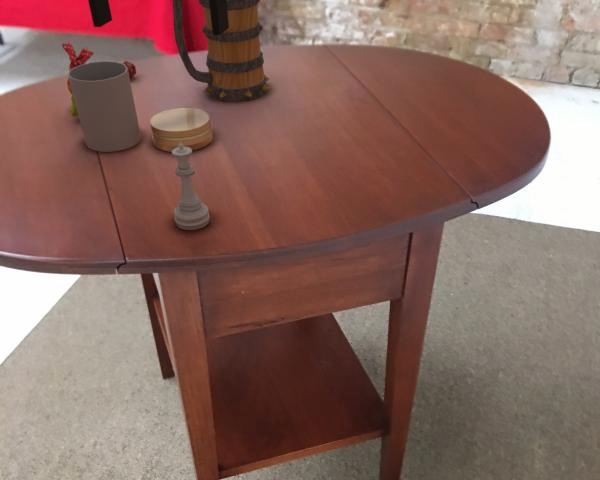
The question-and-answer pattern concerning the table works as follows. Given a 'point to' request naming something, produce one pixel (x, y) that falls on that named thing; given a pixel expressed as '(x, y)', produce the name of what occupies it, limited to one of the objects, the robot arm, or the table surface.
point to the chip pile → (181, 129)
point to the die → (130, 68)
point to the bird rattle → (74, 63)
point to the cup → (105, 105)
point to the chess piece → (188, 194)
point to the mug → (228, 52)
